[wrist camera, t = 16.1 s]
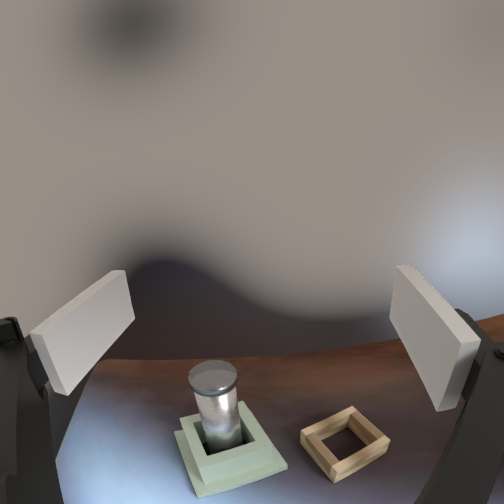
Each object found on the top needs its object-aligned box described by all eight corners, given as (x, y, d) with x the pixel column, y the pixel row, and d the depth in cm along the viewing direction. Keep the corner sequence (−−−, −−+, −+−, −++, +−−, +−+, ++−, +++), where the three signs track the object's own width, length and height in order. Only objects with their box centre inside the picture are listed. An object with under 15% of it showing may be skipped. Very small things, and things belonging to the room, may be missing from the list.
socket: (250, 414, 43) (248, 392, 41) (287, 468, 32) (288, 448, 31) (175, 435, 38) (167, 413, 37) (198, 498, 28) (190, 480, 26)
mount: (349, 419, 40) (352, 405, 39) (385, 452, 32) (390, 440, 31) (300, 442, 37) (301, 430, 36) (333, 483, 29) (337, 472, 28)
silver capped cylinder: (238, 436, 39) (227, 355, 34) (252, 461, 34) (244, 381, 30) (203, 446, 37) (183, 366, 32) (215, 472, 32) (195, 395, 28)
